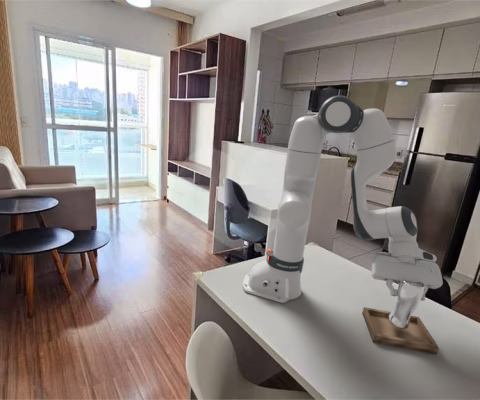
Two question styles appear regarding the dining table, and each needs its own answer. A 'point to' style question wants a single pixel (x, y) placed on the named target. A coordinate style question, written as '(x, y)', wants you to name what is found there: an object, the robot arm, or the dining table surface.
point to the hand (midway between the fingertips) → (407, 297)
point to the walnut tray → (399, 332)
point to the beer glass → (405, 302)
